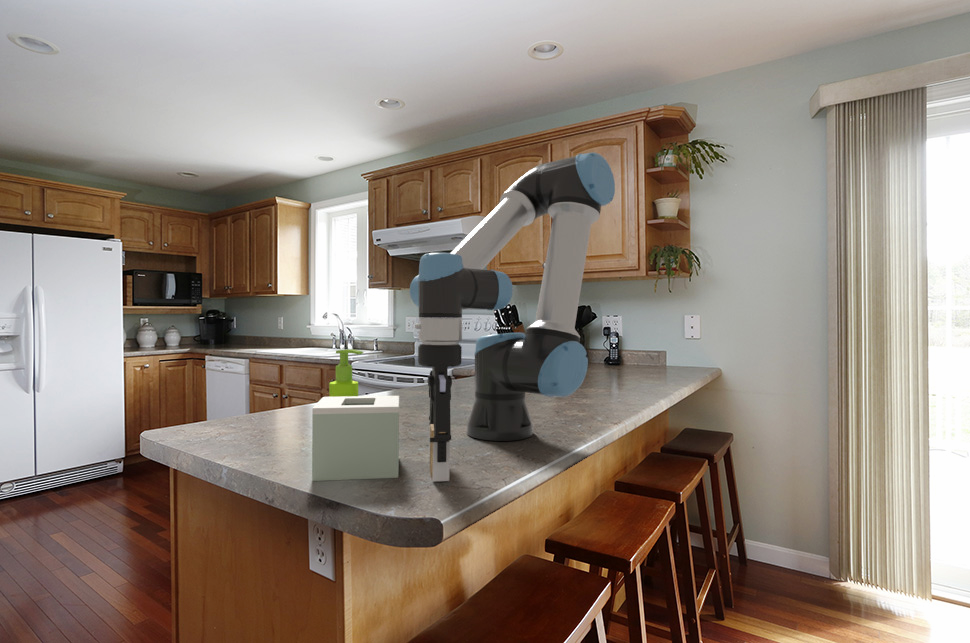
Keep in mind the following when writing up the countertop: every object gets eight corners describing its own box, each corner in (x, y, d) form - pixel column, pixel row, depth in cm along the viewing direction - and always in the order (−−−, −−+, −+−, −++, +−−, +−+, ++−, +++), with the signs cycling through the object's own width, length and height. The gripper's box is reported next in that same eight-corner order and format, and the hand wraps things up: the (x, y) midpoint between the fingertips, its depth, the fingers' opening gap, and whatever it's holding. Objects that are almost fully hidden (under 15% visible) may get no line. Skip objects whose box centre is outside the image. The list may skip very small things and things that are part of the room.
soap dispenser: (355, 449, 108) (355, 350, 107) (323, 447, 109) (324, 350, 109) (367, 442, 113) (367, 349, 113) (337, 440, 115) (337, 348, 114)
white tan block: (429, 468, 94) (430, 424, 94) (446, 468, 95) (446, 423, 95) (431, 477, 90) (431, 430, 89) (448, 476, 90) (449, 430, 90)
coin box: (398, 458, 101) (399, 395, 101) (398, 477, 89) (398, 406, 89) (322, 460, 99) (323, 396, 99) (312, 480, 87) (312, 408, 87)
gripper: (416, 339, 102) (415, 455, 102) (420, 346, 80) (419, 493, 81) (455, 339, 103) (453, 454, 104) (469, 346, 82) (468, 491, 82)
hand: (438, 471), depth 92 cm, fingers open, 9 cm apart
